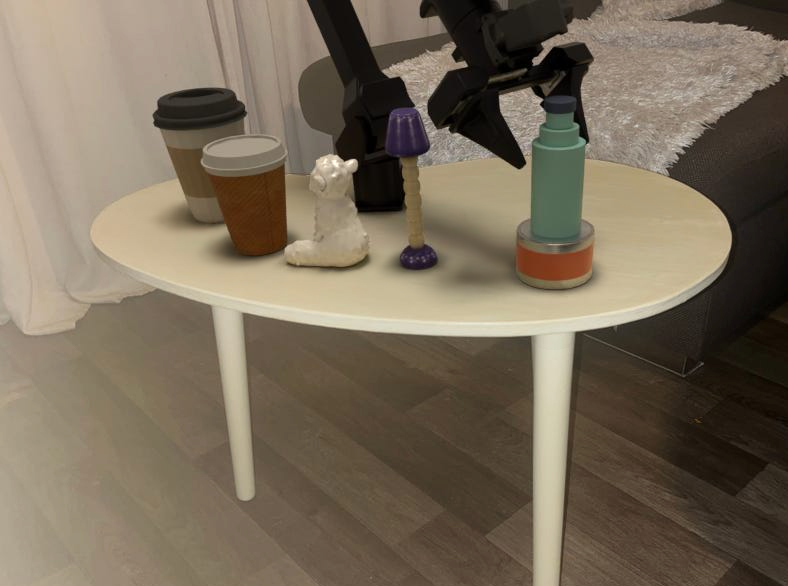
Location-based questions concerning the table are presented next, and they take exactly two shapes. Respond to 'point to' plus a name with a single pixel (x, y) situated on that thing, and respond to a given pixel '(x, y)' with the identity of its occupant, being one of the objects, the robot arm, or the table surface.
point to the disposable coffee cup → (250, 190)
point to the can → (554, 257)
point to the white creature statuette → (332, 219)
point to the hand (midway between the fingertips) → (555, 155)
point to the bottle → (557, 172)
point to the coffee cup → (198, 139)
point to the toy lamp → (411, 180)
